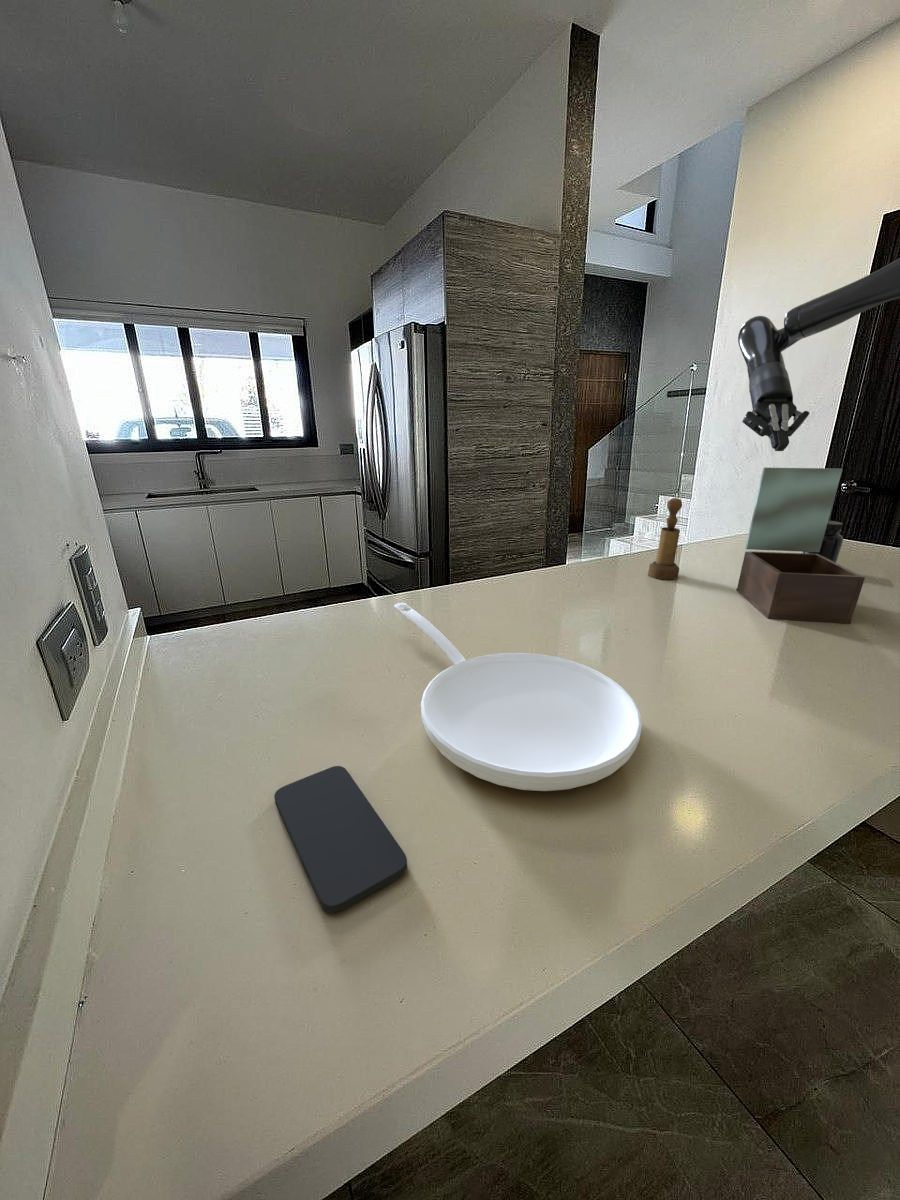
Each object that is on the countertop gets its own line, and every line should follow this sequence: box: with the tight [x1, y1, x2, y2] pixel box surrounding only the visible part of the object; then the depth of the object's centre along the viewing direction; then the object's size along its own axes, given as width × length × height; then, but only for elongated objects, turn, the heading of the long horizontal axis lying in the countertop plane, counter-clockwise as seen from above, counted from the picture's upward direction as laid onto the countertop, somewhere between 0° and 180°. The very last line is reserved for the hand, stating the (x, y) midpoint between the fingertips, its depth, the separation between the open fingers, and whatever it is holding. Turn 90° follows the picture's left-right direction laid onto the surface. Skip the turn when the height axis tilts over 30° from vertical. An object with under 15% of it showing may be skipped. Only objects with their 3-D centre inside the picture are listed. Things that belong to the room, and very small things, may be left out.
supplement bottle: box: [802, 520, 844, 563], centre depth 113 cm, size 7×7×12 cm
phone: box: [273, 765, 408, 913], centre depth 43 cm, size 7×1×15 cm
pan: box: [392, 602, 643, 792], centre depth 63 cm, size 25×44×6 cm, turn 34°
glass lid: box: [744, 466, 843, 553], centre depth 95 cm, size 16×14×1 cm
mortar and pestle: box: [647, 497, 683, 581], centre depth 109 cm, size 7×6×18 cm
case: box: [736, 550, 866, 624], centre depth 93 cm, size 16×14×9 cm
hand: (781, 448), depth 101 cm, fingers closed
